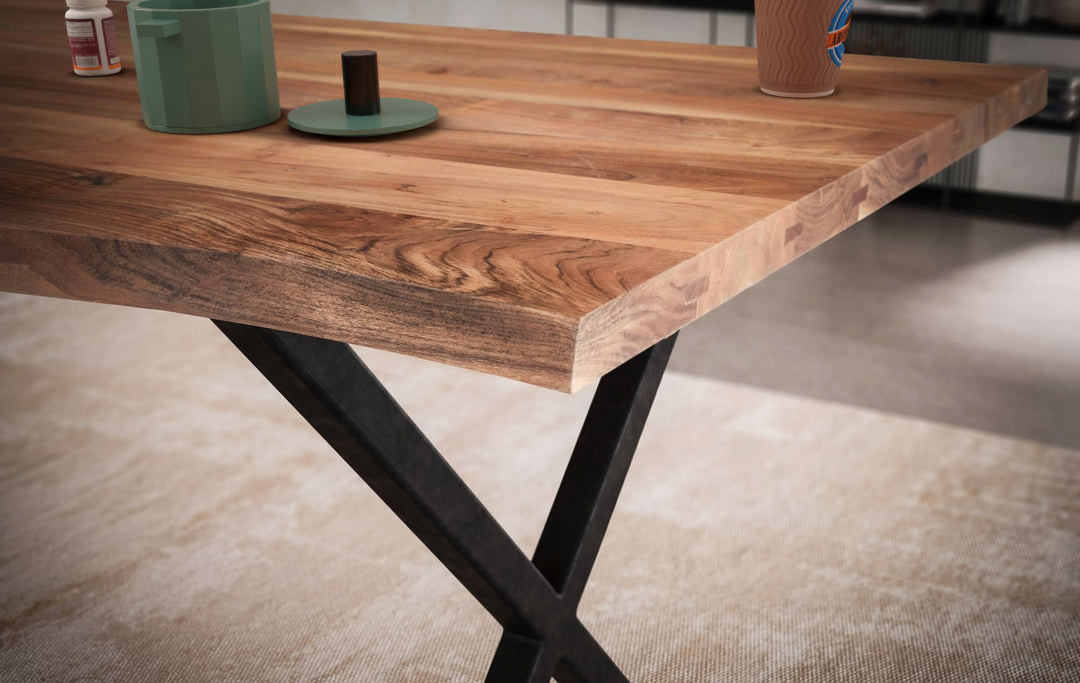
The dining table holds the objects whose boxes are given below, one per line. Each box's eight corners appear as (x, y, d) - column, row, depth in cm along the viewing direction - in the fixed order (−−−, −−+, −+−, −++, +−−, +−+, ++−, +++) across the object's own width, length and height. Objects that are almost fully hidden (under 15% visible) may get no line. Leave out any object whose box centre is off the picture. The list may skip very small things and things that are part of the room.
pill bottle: (110, 67, 127) (97, -13, 124) (129, 72, 124) (116, -10, 121) (67, 72, 124) (53, -9, 121) (85, 78, 121) (71, -6, 118)
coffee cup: (848, 104, 106) (862, -35, 101) (734, 98, 108) (742, -37, 104) (855, 83, 115) (868, -45, 110) (750, 78, 117) (758, -47, 113)
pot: (101, 138, 96) (81, 13, 92) (199, 97, 111) (185, -11, 107) (230, 144, 94) (216, 16, 90) (312, 101, 109) (303, -10, 105)
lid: (262, 139, 95) (254, 63, 93) (322, 107, 107) (316, 39, 104) (412, 145, 93) (407, 68, 90) (456, 111, 104) (454, 42, 102)
